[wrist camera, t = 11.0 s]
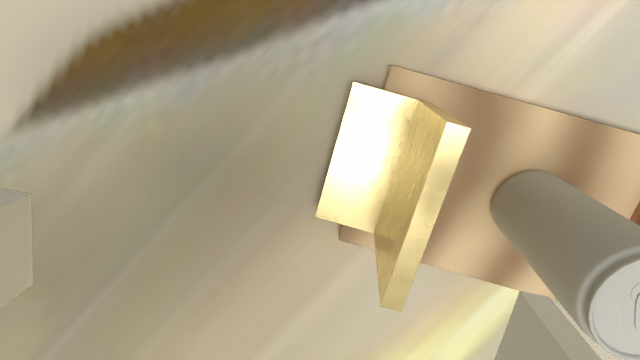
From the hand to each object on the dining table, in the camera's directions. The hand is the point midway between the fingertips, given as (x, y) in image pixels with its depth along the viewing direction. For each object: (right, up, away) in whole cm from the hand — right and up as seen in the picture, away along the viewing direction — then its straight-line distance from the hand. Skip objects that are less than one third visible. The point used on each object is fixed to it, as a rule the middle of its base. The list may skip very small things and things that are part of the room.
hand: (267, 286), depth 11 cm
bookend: (+5, +4, +16) cm, 17 cm away
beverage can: (+15, +1, +16) cm, 22 cm away
